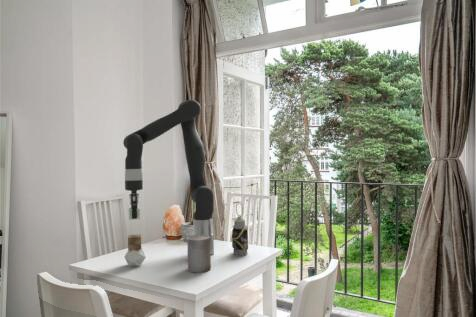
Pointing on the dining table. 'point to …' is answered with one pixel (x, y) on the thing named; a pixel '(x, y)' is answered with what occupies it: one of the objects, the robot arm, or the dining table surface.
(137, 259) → the die
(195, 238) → the grey upright cylinder
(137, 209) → the green block
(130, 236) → the walnut block
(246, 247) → the lantern
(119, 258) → the dining table surface
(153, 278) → the dining table surface
